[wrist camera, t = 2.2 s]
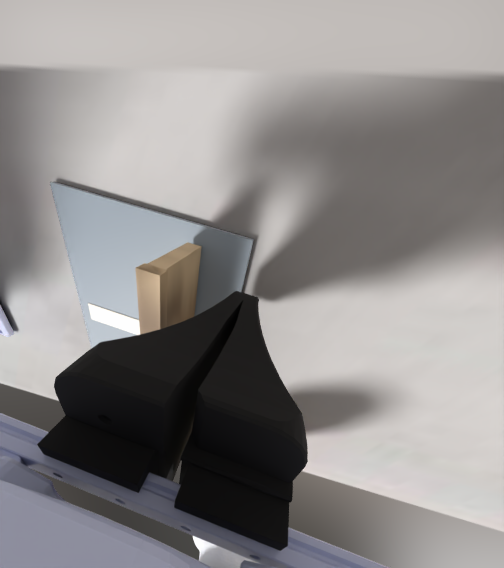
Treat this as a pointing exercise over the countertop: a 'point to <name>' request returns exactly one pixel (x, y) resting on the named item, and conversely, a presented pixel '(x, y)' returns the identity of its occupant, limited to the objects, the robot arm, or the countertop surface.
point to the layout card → (137, 257)
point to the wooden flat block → (168, 288)
